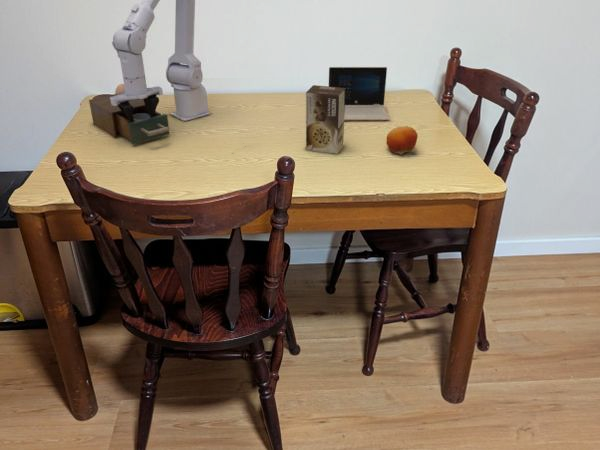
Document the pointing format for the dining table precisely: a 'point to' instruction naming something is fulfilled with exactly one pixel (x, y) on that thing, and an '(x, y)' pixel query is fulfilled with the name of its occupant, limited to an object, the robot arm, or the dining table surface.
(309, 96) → the cookie box
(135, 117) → the grey plastic pail
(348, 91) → the laptop
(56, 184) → the dining table surface
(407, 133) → the fruit
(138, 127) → the drawer
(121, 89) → the egg
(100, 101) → the cabinet
